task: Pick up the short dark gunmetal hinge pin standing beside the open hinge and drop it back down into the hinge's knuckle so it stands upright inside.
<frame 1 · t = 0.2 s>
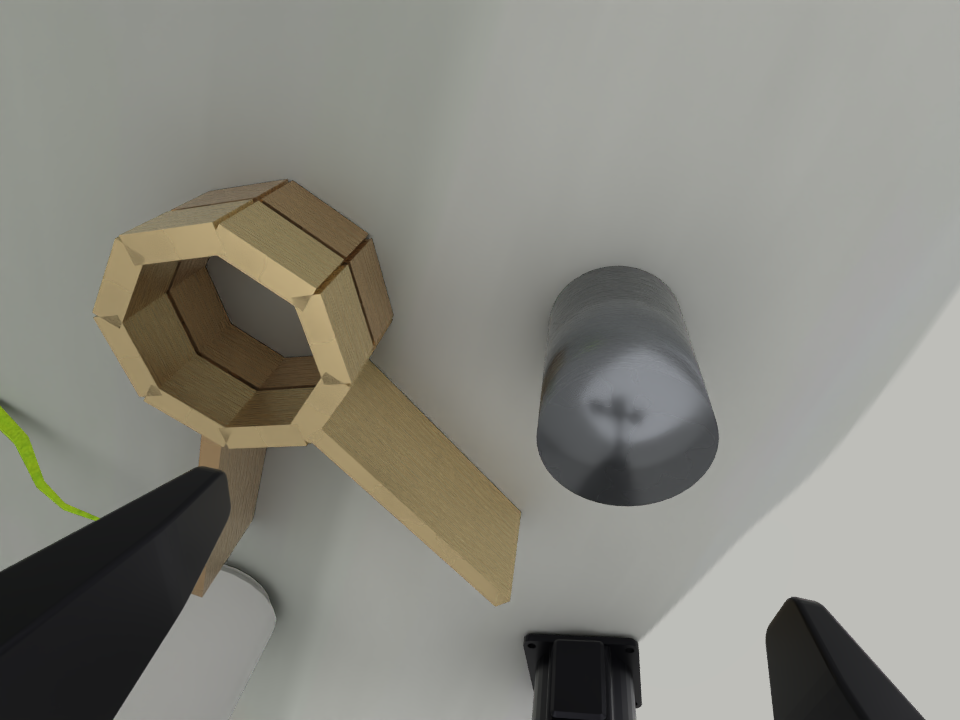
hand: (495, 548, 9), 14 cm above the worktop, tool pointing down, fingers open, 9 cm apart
hinge pin: (613, 326, 22), on the worktop
hinge: (286, 288, 23), on the worktop
can: (228, 589, 36), on the worktop
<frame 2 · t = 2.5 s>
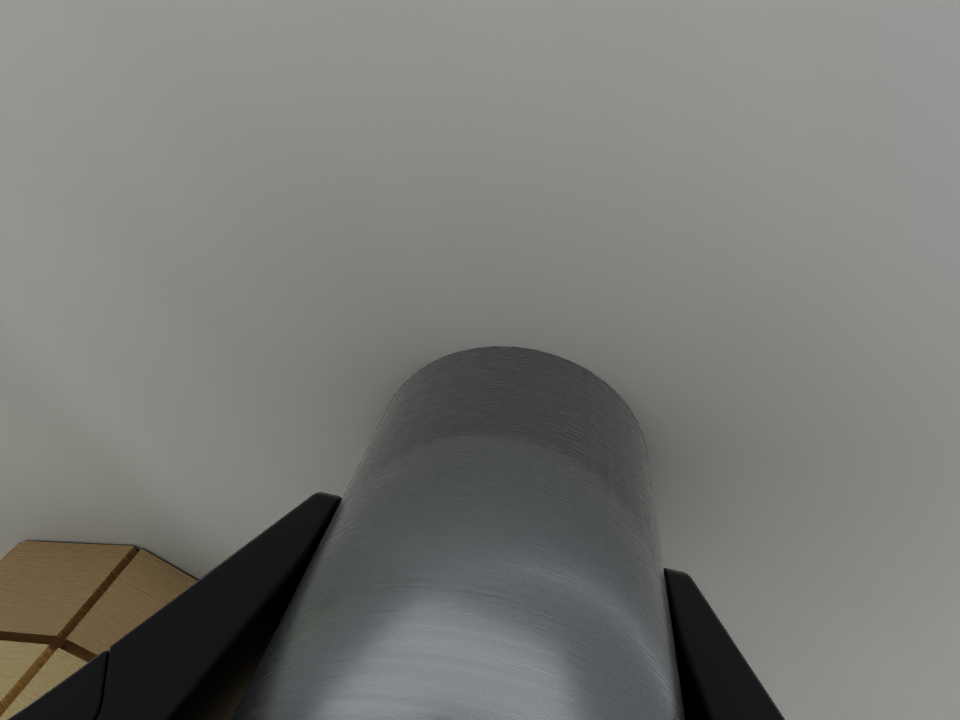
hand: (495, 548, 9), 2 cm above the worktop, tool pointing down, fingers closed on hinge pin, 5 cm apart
hinge pin: (509, 461, 11), on the worktop, touching gripper
hinge: (147, 645, 16), on the worktop
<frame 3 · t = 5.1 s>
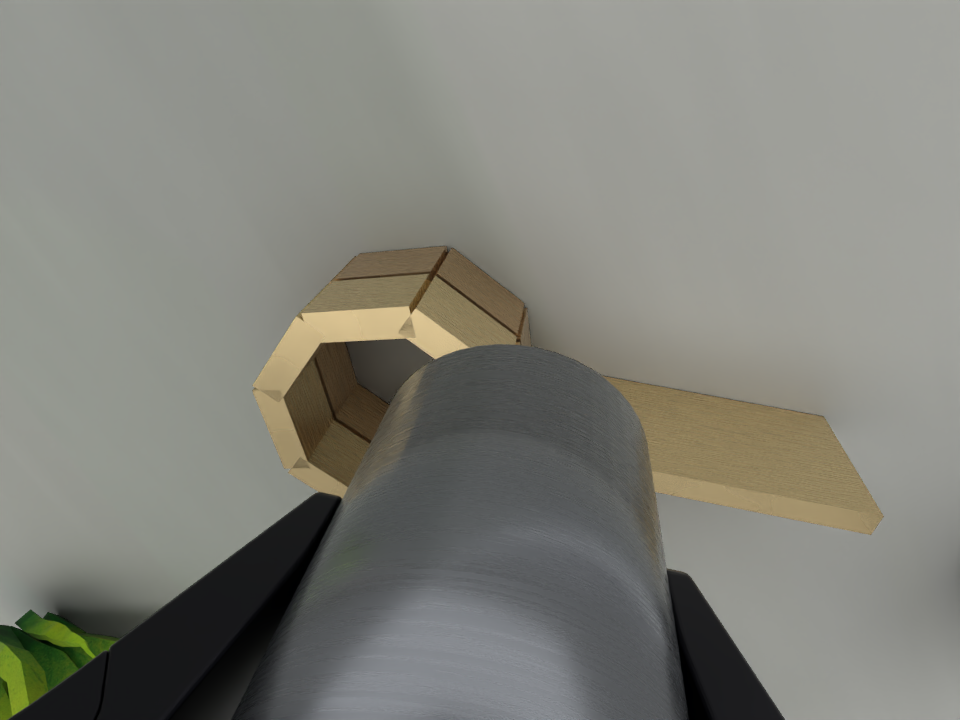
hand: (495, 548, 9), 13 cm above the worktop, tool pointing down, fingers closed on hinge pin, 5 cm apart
hinge pin: (511, 459, 11), point 11 cm above the worktop, touching gripper
decorative plant: (245, 618, 35), on the worktop
hinge: (425, 352, 22), on the worktop
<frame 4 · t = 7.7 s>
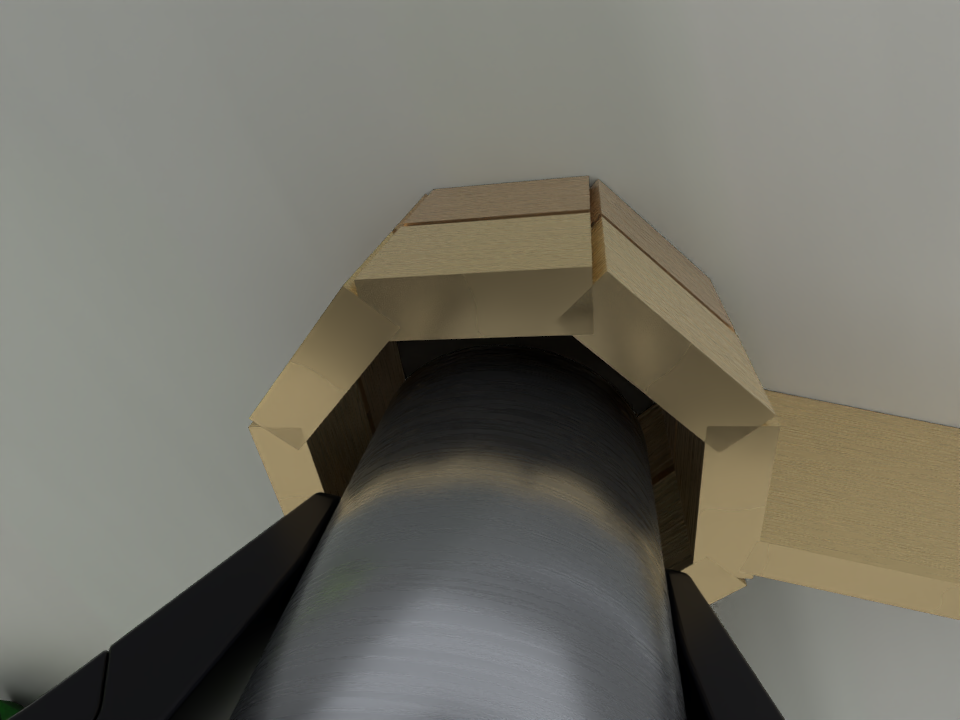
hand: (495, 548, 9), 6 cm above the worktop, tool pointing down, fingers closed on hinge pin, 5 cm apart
hinge pin: (509, 460, 11), point 4 cm above the worktop, touching gripper
decorative plant: (248, 709, 27), on the worktop
hinge: (525, 356, 14), on the worktop
when the fingers open (6 cm above the worktop, at t = 8.2 s): hinge pin drops 4 cm, resting in hinge.
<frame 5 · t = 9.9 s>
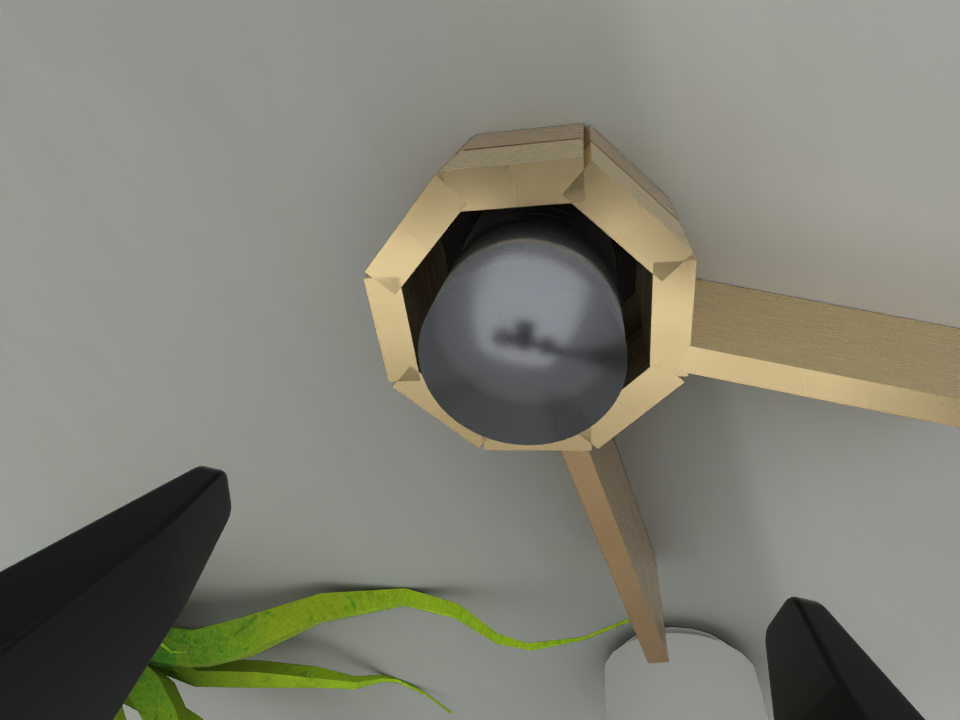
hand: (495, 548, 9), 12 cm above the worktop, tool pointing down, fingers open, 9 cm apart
hinge pin: (539, 258, 19), resting in hinge
decorative plant: (316, 600, 32), on the worktop
hinge: (538, 260, 19), on the worktop
can: (675, 658, 30), on the worktop
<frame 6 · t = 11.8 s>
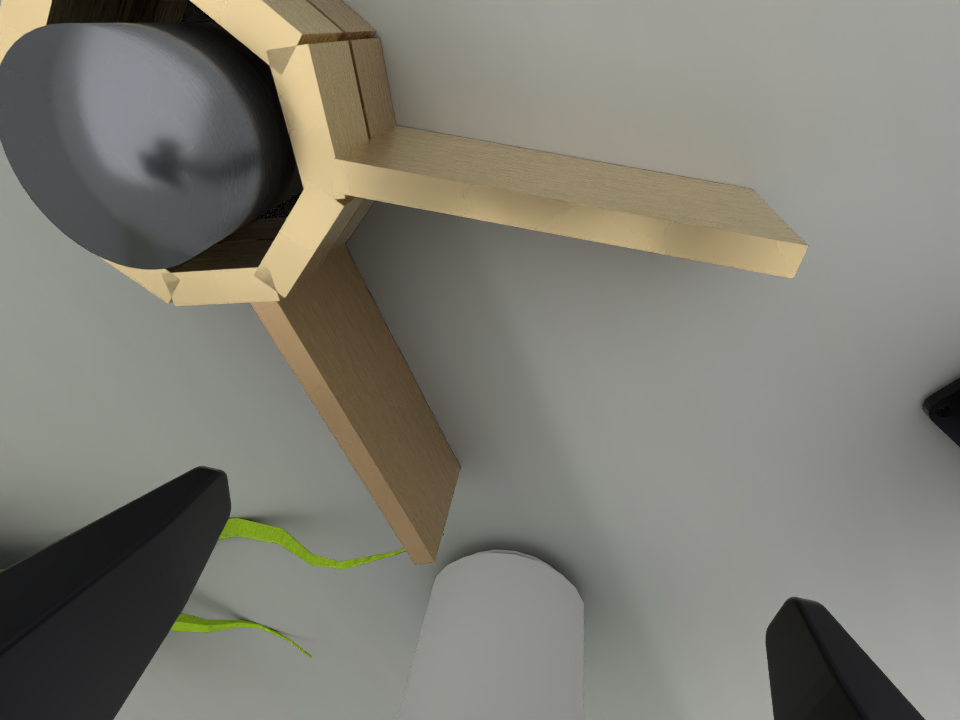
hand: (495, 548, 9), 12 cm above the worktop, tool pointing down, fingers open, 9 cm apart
hinge pin: (265, 113, 18), resting in hinge
decorative plant: (160, 538, 31), on the worktop
hinge: (264, 115, 18), on the worktop
can: (509, 586, 28), on the worktop
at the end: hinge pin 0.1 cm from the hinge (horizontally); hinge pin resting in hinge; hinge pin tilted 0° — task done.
